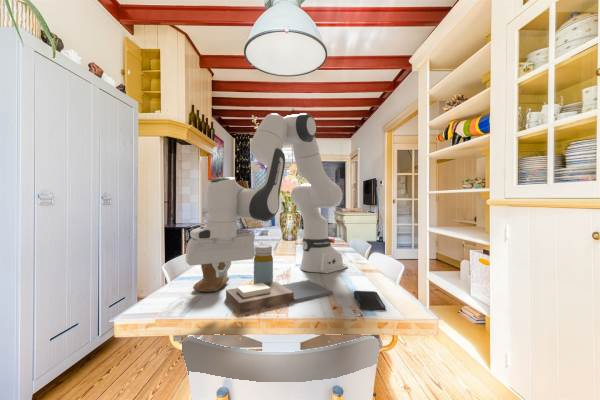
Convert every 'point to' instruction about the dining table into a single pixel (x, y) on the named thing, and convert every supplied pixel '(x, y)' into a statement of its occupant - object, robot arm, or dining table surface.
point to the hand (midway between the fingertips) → (221, 276)
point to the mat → (307, 290)
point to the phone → (369, 300)
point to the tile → (253, 290)
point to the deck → (260, 298)
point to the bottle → (263, 264)
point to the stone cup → (210, 278)
